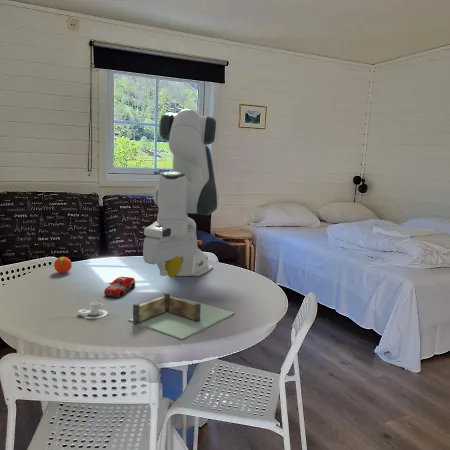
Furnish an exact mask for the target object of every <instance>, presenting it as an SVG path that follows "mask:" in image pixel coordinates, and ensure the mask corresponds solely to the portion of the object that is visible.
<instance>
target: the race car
mask: <svg viewBox="0 0 450 450" xmlns="http://www.w3.org/2000/svg"><path fill="white" fill-rule="evenodd" d="M108 283H109V285H108V286H107V287H106V288H105V289H104V296H106V297H110V298H111V297H112V298H116V297H117V298H118V297H119V298H122V297H123V295H125V294H127V293H128V292H129V291H131V290H133V289H134V288H135V287H136V280H135V278H134V277H129V276H119V277H116V278H114V279H113V280H112V282H108Z"/></svg>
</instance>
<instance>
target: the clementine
mask: <svg viewBox="0 0 450 450" xmlns="http://www.w3.org/2000/svg"><path fill="white" fill-rule="evenodd" d="M72 264H73V263H72V260H71V259H70V258H69V257H66V256H60V257H58V258H56V259H55V261H54V265H53V266H54V269H55V271H56V272H57V273H59V274H66V273H68V272H69V271H70V270H71V269H72V266H73V265H72Z"/></svg>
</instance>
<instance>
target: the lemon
mask: <svg viewBox="0 0 450 450" xmlns="http://www.w3.org/2000/svg"><path fill="white" fill-rule="evenodd" d="M164 266H165V269H167V270H168V272H167V273H168V275H167V276H168V277H170V279H172V278H174V277H176V275H177V274H178V273H179V272H180V270H181V260H180V257H178V256H176V257H174V258H173V259H172V260H169V261H166V263H165V265H164Z"/></svg>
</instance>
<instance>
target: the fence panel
mask: <svg viewBox="0 0 450 450" xmlns="http://www.w3.org/2000/svg"><path fill="white" fill-rule="evenodd" d="M181 299H182V298H177V297H174V296H171V295H170V297H169V311H170V312H172V313H175V314H178V315H181V316H184V317H187V318H190V319H193V320H195V321H200V309H201V304H199V303H200V302H198V303H197V304H194V303H191V302H187V301H184V300H181Z"/></svg>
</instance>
